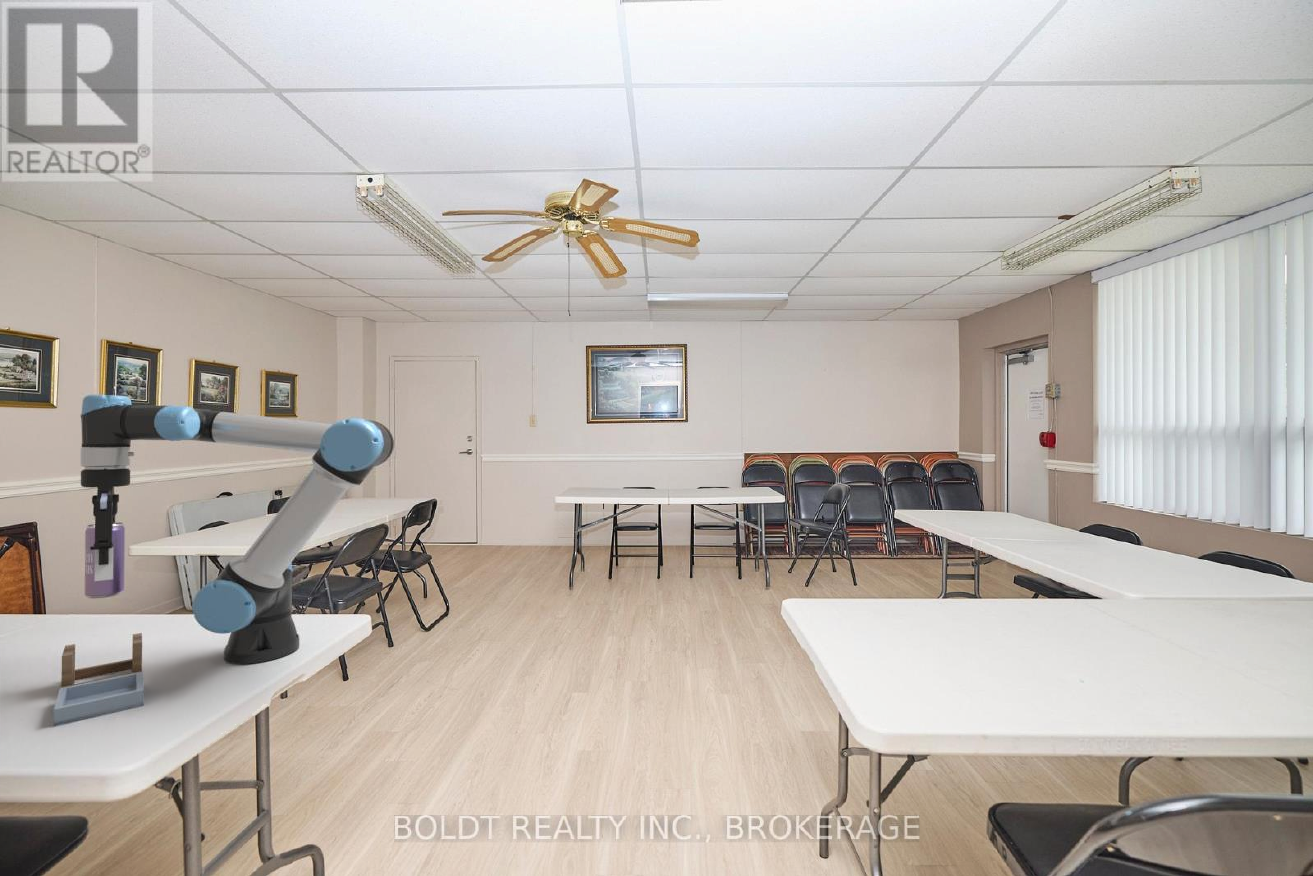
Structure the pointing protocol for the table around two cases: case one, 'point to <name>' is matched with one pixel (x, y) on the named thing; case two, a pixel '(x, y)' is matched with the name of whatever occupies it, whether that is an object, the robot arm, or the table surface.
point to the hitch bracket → (72, 675)
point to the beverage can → (117, 583)
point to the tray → (99, 698)
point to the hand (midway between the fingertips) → (105, 576)
